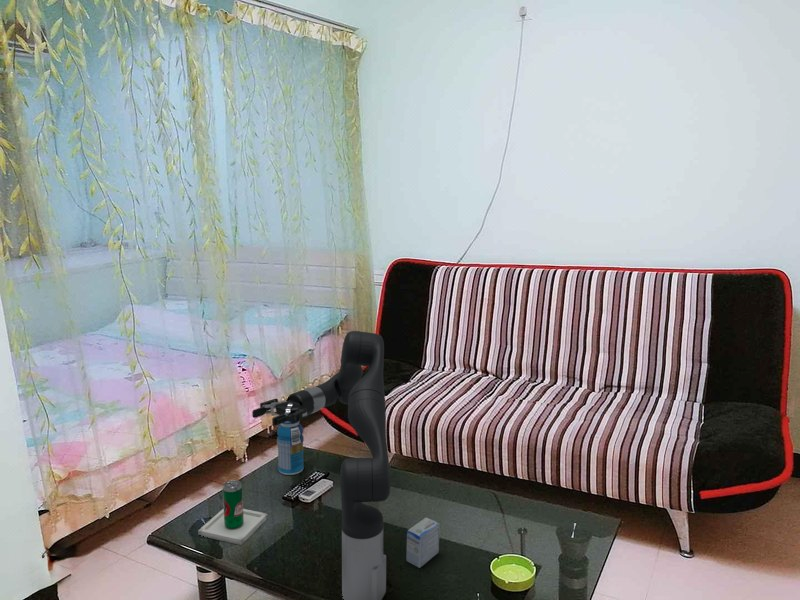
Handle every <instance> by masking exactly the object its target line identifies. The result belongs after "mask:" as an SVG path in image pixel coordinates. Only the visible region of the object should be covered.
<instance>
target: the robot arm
mask: <svg viewBox="0 0 800 600" xmlns="http://www.w3.org/2000/svg"><path fill="white" fill-rule="evenodd" d="M384 358H385V341H384V339H383V337H382V335H381V334H378V333H376V332H375V333H373V332H368V331H359V330H351V331H350V330H349V332H347V333H346V335H345V337H344V339H343V343H342V349H341V356H340V367H339V370H338V371H337V372H336V373H335V374H334V375H333V376H332V377H330V378H329V379H328V380H327V381H325V382H323V383H321V384H318V385H315V386H312V387H311V386H310V387H307V388H304V389H302V390H298V391H295V392H293V393H291V394H288V395H289V396H287V399H286V400H281V401H279V399H278V398H273V399H270V400H266V401H263V402H260V403H259V407H258V408H256V409H253V410H252V412H251V413H252V418H253V419H256V418H260V417H262V416H265V415H271V416H273V417H272V419H271V420H272V421H271V422H272V423H271V424H272V426H274V427H276V426H280V424H281V423H284V422H285V423H288V422H291V424H294V423H296V422H299V421H300V422H301V421H303V420H305V419H307V418H308V416H309V415H312V414H315V413H317V412H318V411H320V410H322V409H324V408H326V407H330V406H331V405H334V404H335V403H336V402H337V400H339V402H340V403H341V404H343V405H347V419H348V422H349V424H350V426H351V428H352V429H353V431H355V433H356V434H357V435H358V437H360V439H361V440H362V441H364V443H365V445H366V447H368V449H369V451H370V453H371V455H372V457H350V458H349V457H348V458H345V459H343V461H342V463H341V465H340V470H339V481H340V482H339V484H340V485H339V486H340V499H341V591H342V593H341V597H342V596H343V597H342V600H343V599H344V600H383V598H384V596H385V595H386V593H387V555H386V554H384V515H383V514H382V512H381V511H380V510H379V509H378V508H376V507H374V506H372V505H370V504H367V503H372V502H373V503H374V502H375V503H378V502H383V501H386V500H387V499H388V498H389V496H390V493H391V487H392V486H391V484H392V483H391V481H392V479H391V472H390V470H391V469H390V461H389V453H388V444H387V426H386V425H387V424H386V423H387V422H386V421H387V419H386V418H387V417H386V415H387V412H386V397H385V382H384V363H385V361H384V360H385V359H384ZM363 367H368V368H369V369H368V371H367V372H366V373H365V375H364V376H363V374H364V371H363ZM295 418H296V419H295ZM300 422H299V423H300Z"/></svg>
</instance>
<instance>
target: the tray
mask: <svg viewBox="0 0 800 600" xmlns="http://www.w3.org/2000/svg"><path fill="white" fill-rule="evenodd" d="M243 515H244V523H243V524H242V525H241V526H240V527H238V528H235V529H229V528H227V527H226V526H225V525H224V507H223V508H222V509H221V510H219V511H218V513H216V515H214V516H213V517H212V518H210V519H209V520H208V521H207V522H206V523H205V524H204V525H203V526H201V527H200V529H198V531H197V532H198V536H199V535H201V536H200V537H203V536H204V537H203V538H207V537H208V538H209V539H213V540H217V541H220V542H224V543H225V542H226V543H230V544H234V545H238V546H242V545H243V544H244V543H246V541H248V539H249V538H251V536H252V535H253V534H254V533H255V532H256V531H257V530H258V529H259V528H260V527H261V526H262V525H263V524H264V523H265V522H266V521H267V520H268V513H265V512H261V511H256V510H250V509H246V508H243ZM208 538H207V539H208Z"/></svg>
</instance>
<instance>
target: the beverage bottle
mask: <svg viewBox="0 0 800 600" xmlns="http://www.w3.org/2000/svg"><path fill="white" fill-rule="evenodd" d="M295 419H296V418H295ZM300 422H301V421H299V422H296V423H294V424H291V422H288V423H285V422H284V423H281V424H279V425H278V428H277V431H276V433H277V434H276V435H277V437H276V444H277V453H278V455H277V459H278V461H277V463H278V468H277V469H278V472H279V473H280V474H282V475H285V476H292V475H293V476H294V475H298V474H299V473H302V472H303V470H304V468H305V464H304V439H305V438H304V435H303V434H304V427H303V426H302V424H301V423H300Z"/></svg>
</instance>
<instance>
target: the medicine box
mask: <svg viewBox="0 0 800 600" xmlns="http://www.w3.org/2000/svg"><path fill="white" fill-rule="evenodd" d="M439 544H440V522H437V521H435V520H434V519H431V518H430V517H429V518H428V517H424V518H423V519H422V520H420V521H419V522H418V523H416V524H414V525H413V526H412V527H411V528H409V529H408V530H407V531H406V558H405V559H406V562H408V563H409V564H412V565H413V566H415V567H416V568H419V569H420V568H421V567H422V568H423V566H424V565H425V564H427V563H428V562H429V561H430V560H432V558H434V557H435V556H436V555H437V554H439V553H440V552H439V550H440V545H439Z"/></svg>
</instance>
